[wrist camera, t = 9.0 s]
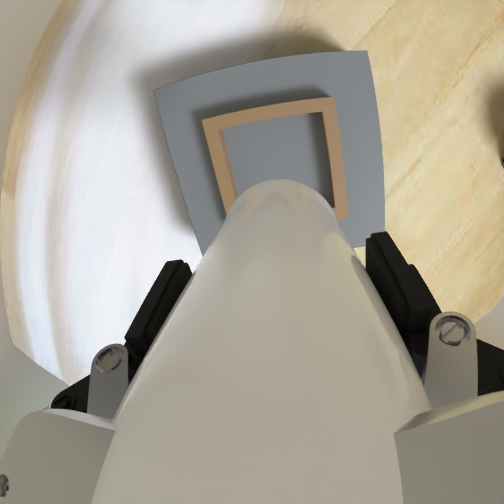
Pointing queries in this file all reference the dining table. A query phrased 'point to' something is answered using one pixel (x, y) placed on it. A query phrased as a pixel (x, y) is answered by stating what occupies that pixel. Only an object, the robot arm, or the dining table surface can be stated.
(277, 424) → the white tapered cylinder
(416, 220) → the dining table surface
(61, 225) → the dining table surface
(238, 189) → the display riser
